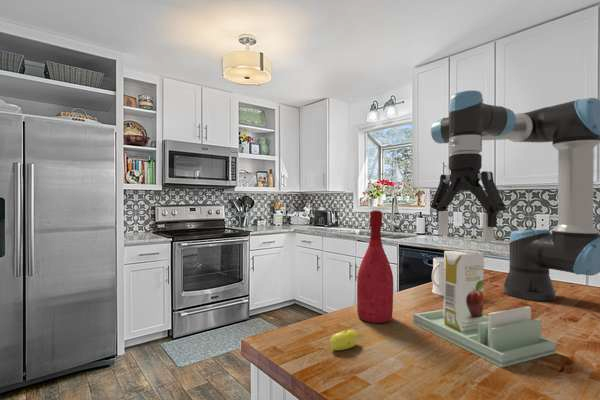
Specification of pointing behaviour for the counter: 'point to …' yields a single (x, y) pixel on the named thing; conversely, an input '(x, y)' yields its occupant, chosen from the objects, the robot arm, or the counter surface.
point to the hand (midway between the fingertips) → (463, 237)
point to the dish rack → (495, 336)
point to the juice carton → (463, 289)
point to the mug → (438, 276)
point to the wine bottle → (375, 278)
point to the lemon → (344, 340)
